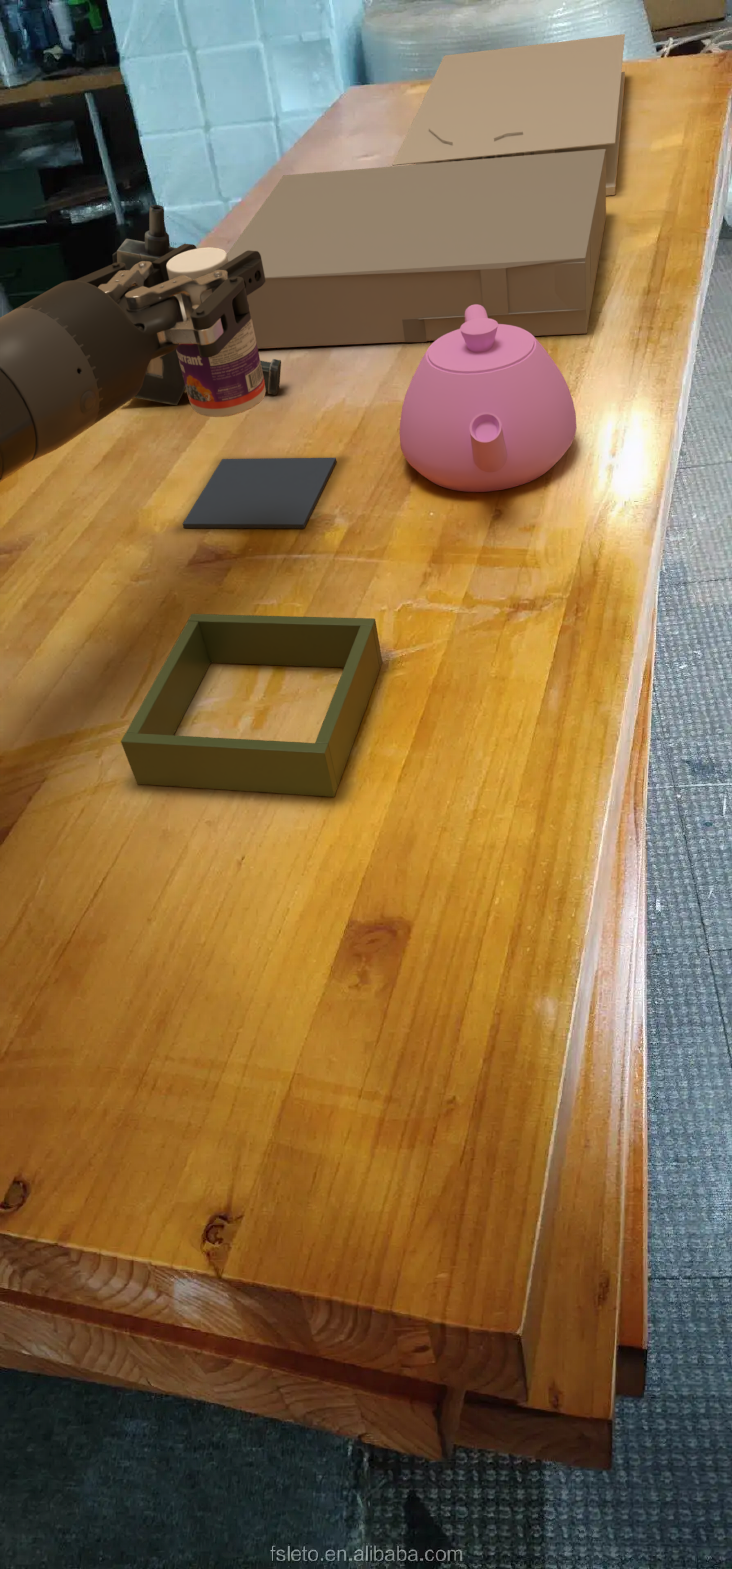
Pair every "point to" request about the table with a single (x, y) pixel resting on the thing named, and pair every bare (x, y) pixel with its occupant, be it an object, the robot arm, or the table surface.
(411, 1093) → the table surface
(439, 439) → the teapot
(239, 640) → the square frame
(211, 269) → the pill bottle
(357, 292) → the box
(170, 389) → the gun
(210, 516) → the mat
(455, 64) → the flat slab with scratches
